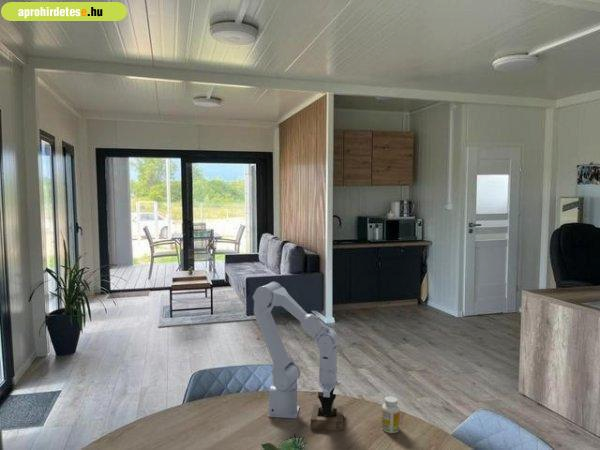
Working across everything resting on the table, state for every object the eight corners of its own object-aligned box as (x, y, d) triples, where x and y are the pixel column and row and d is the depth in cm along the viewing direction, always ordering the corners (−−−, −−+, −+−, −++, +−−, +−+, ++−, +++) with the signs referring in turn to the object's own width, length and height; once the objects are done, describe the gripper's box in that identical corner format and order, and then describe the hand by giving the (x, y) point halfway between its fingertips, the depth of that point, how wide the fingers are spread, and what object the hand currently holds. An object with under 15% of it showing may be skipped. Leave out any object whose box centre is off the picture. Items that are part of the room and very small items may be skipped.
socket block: (310, 428, 134) (310, 419, 134) (313, 412, 144) (313, 404, 144) (342, 430, 133) (342, 421, 133) (342, 414, 143) (343, 405, 143)
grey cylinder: (320, 422, 137) (321, 398, 137) (321, 416, 141) (321, 392, 141) (333, 423, 137) (333, 399, 136) (333, 417, 141) (334, 393, 140)
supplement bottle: (397, 425, 137) (398, 395, 136) (400, 434, 132) (400, 403, 131) (380, 424, 138) (381, 394, 137) (382, 433, 132) (383, 402, 132)
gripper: (339, 378, 130) (339, 421, 131) (340, 360, 144) (340, 399, 145) (316, 376, 131) (316, 419, 132) (320, 358, 145) (319, 397, 146)
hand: (327, 408), depth 139 cm, fingers open, 7 cm apart
